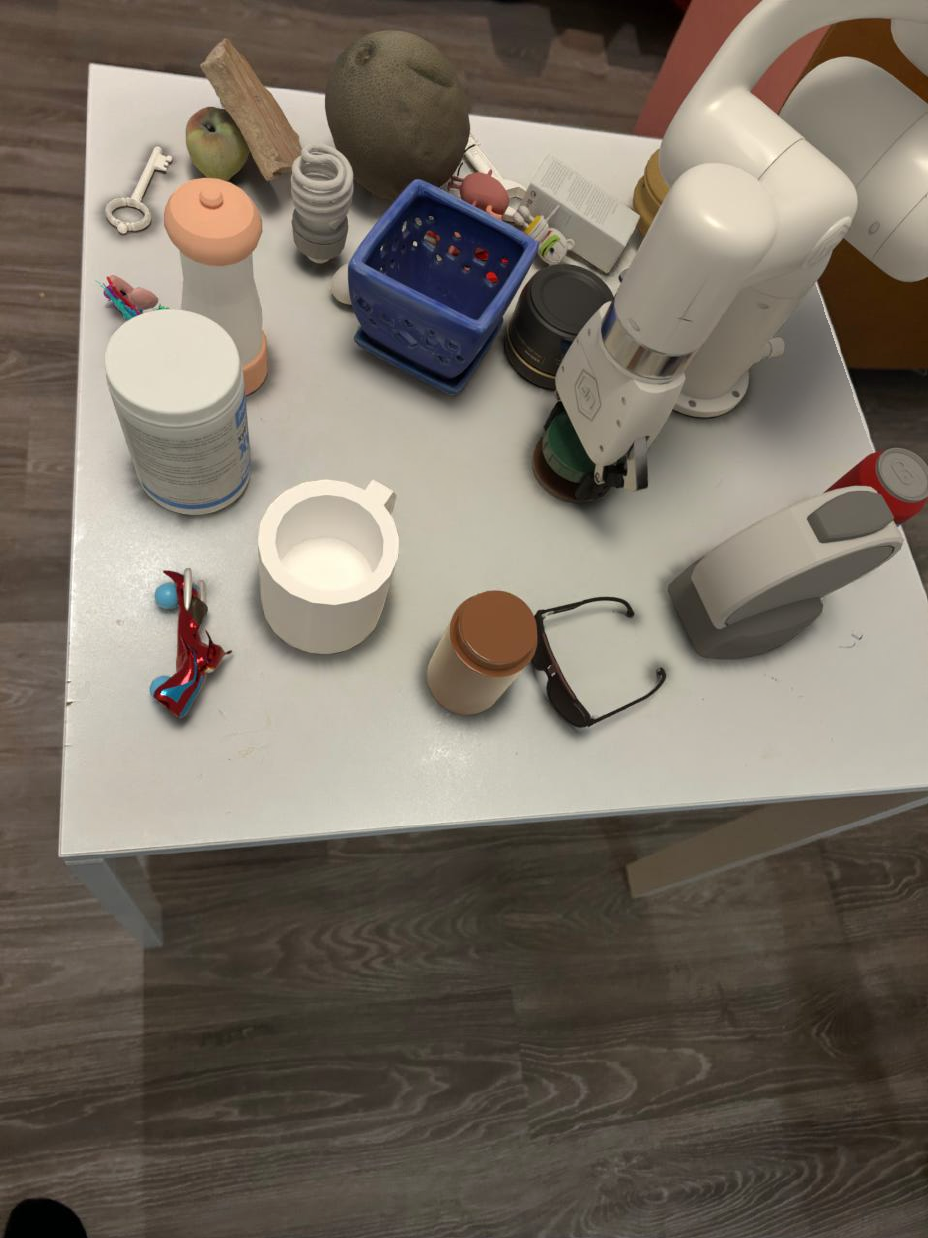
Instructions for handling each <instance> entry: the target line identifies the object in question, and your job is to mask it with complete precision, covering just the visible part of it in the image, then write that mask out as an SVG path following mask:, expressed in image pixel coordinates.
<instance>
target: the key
mask: <svg viewBox="0 0 928 1238" xmlns="http://www.w3.org/2000/svg"><path fill="white" fill-rule="evenodd" d="M173 158H174V157H173V156H172V155H168V154H167V156H166V155H163V149H162V148H161V147H160V146H154V148H153V150H152V152H151V154H150V157H149V159H148V161H147V163H146V165H145V167H144V170H143V171H142V174H141V176H140V178H139V179H138V182H137V184H136V186H135V189H134V190H133V193H132V194H131V196H130V197H116V198H114V199H111V200H110V201H108V202H107V204H106V206H105V209H104V212H105V213H104V214H105V217H106V219H107V220H108V221H109V223H110V224H111V225H113V226H115V227H116V229H117V232H119V233H120V234H127V232H131V231H133V232H136V231H141V230H144V229H145V228H148V226H149V225H150V224H151V221H152V214H151V210H150V209H149V208H148V206H147V205H146V204H145V203H143V202H142V198H143V196H144V194H145V192H146V190H147V187H148V185H149V183H150V180H151V179H152V176H153V175H154V171H155V170H156V171H161V172H162V171H163V172H167V171H168V166H169V163H171V162H172V160H173ZM126 206H127V207H132V208H136V209H137V210H140V211H141V212H142V213H143V214H144V215H143V217H142V218H141V219H140V220H137V221H131V222H129V221H124V220H120V219H119V218H116V217H115V216H114V215H113V212H114V211H115V210H116V209H117V208H120V207H126Z"/></svg>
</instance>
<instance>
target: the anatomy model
mask: <svg viewBox="0 0 928 1238" xmlns="http://www.w3.org/2000/svg"><path fill="white" fill-rule="evenodd" d="M105 278H106V281H107V283H108V285H107V286H106V284H105V283H102V284H101V282H100V281H98V280H96V279H95V280H94V281H95V282H96V283H97V284H98V285H99V287H100V288H103V296H104V297H105V298H106V299H107V301H108V302H112V304H113V306H114V307H115V308H116V309H117V310H118V311H120V312H121V314H122V315H123V319H124V320H126V322H127V321H128V320H130V319H132V318H133V317H135V316H138V315H140V314H143V312H144V311H146V310H150V309H151V310H152V311H155V310H163V309H170V307H168V306H165V305H161V303H159V297H158V296H157V295H156V294H155V293H153V292H152V291H151V290H148V289H146V288H144V287H136V288H134V286H132V285H131V284H130V283H129V282H127V281H126V280H125V279H123V278H122V277H119V276H118V275H115V274H111V275H110V276H109V275H107V276H106V277H105ZM158 304H159V305H158ZM157 305H158V307H156V306H157ZM155 307H156V308H155Z"/></svg>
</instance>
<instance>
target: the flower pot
mask: <svg viewBox="0 0 928 1238" xmlns="http://www.w3.org/2000/svg"><path fill="white" fill-rule="evenodd" d="M430 217H431V218H432V219H431V218H430ZM416 219H418V220H420V221H421V224H419V223H417V221H416ZM404 225H405V228H404ZM403 228H404V230H403ZM427 231H432V232H433V233H435V234H436V235H438V236H439V237H440V239H439V241H437V244H436V246H435V247H433V245H431V244H430V243H429V242H427V241H426V239H425V237H426V236H427V235H426V233H427V234H428V232H427ZM455 232H457V233H459V234H460V236H461V237H456V235H455ZM414 242H415V243H416V245H414ZM450 246H454V247H456V248H457V249H459V250H460V253H459V255H458V256H457V257H454V256H453V255H451V254H450V253H449V252H448V249H449V247H450ZM538 247H539V244H538V242H537V241H536V240H535V239H533V238H532V237H530V236H528V235H527V234H525V233H524V231H522V230H520V229H519V228H517V227H515V226H512V225H511V224H509V223H507V222H506V221H505V220H500V219H498V218H496V217H494V216H493V215H491V214H489V213H487V212H485V211H483V210H481V209H479V208H477V207H475V206H473V205H471V204H469V203H467V202H465V201H463V200H461V198H459V197H457V196H456V195H453V194H452V193H449V191H448V192H447V191H445V190H444V189H442V188H441V187H440V188H438V187H436V186H434V185H432V184H430V183H427V182H425V181H423V180H419V179H416V180H414V181H412V182H411V183H410V184H409V185H408V186H407V187H406V188H405V190H404V191H403V192H402V193H401V194H400V195H399V196H398V198H397V199H396V200H393V203H392V204H391V205H390V206H389V207H388V209H387V210H386V211H385V212H384V213H383V214H382V215H381V217H380V218H379V219H378V220H377V221H376V222H375V224H374V225H373V227H372V228H371V229H370V230H369V232H368V233H367V234H366V235H365V237H364V238H363V240H362V241H361V242H360V244H359V245H358V246H357V248H356V249H355V251H354V253H353V254H352V256H351V258H350V259H349V261H348V262H349V264H348V287H349V295H350V300H351V304H352V305H351V308H352V311H353V313H354V315H355V318H356V320H357V322H358V324H359V325H360V326H359V328H358V329H357V331H356V332H355V334H354V336H353V341H354V344H355V345H357V346H358V347H359V348H361V349H362V350H364V351H365V352H367V353H369V354H371V355H373V356H375V357H377V358H378V359H380V360H382V361H384V362H386V363H387V364H389V365H391V366H393V367H395V368H397V369H399V370H401V371H403V372H404V373H406V374H408V375H410V376H412V377H413V378H416V379H418V380H419V381H420V382H421V381H422V382H424V383H425V384H427V385H429V386H431V387H432V388H435V389H437V390H438V391H441V392H443V393H445V394H447V395H449V396H457V395H459V394H460V393H461V391H462V390H463V388H464V387H465V386H466V384H467V382H468V381H469V379H470V378H471V376H472V375H473V373H474V372H475V370H476V369H477V367H478V366H479V364H480V363H481V361H482V360H483V358H484V356H485V354H487V351H488V350H489V348H490V346H491V344H492V343H493V342H494V340H495V339H496V337H497V335H498V334H499V332H500V330H501V328H502V326H503V324H504V322H505V321H504V320H505V319H504V315H505V314H506V312H507V310H508V309H509V307H510V305H511V304H512V302H513V301H514V298H515V297H516V295H517V293H518V291H519V290H520V288H521V286H522V284H523V282H524V280H525V278H526V276H527V274H528V273H529V270H530V269H531V268H532V267H531V266H532V264H533V262H534V261H535V258H536V256H537V254H538ZM477 248H481V249H483V250H486V251H487V252H488V258H487V260H486V261H485V260H481V259H477V258H475V251H476V249H477ZM438 256H439V257H440V258H441V260H438ZM502 258H505V259H506V260H507V261H508V262H507V264H506V263H504V262H503V261H502ZM464 267H465V268H466V267H468V268H469V269H467V268H466V269H467V270H468V271H467V270H466V269H465V268H464ZM381 269H382V270H381ZM380 270H381V272H380ZM489 272H493V273H494V274H495V275H496V277H497V278H498V281H496V282H490V281H489V280H488V278H487V277H486V275H487V274H488V273H489Z"/></svg>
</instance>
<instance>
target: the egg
mask: <svg viewBox="0 0 928 1238" xmlns="http://www.w3.org/2000/svg"><path fill="white" fill-rule="evenodd" d="M348 264H349V261H348V262H346V263H344V264H343V265H342V266H341V267H340V268H339V269H338V270H336V272H335V273H334V275H333V276H332V279H331V284H330V289H331V292H332V294H331V295H333V296H334V298H335V299H336V300H337V301H338V302H340V303H342V304H345V305H351V306H352V304H351V300H350V295H349V287H348ZM381 270H382V268H381ZM381 270H380V272H381Z"/></svg>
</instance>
